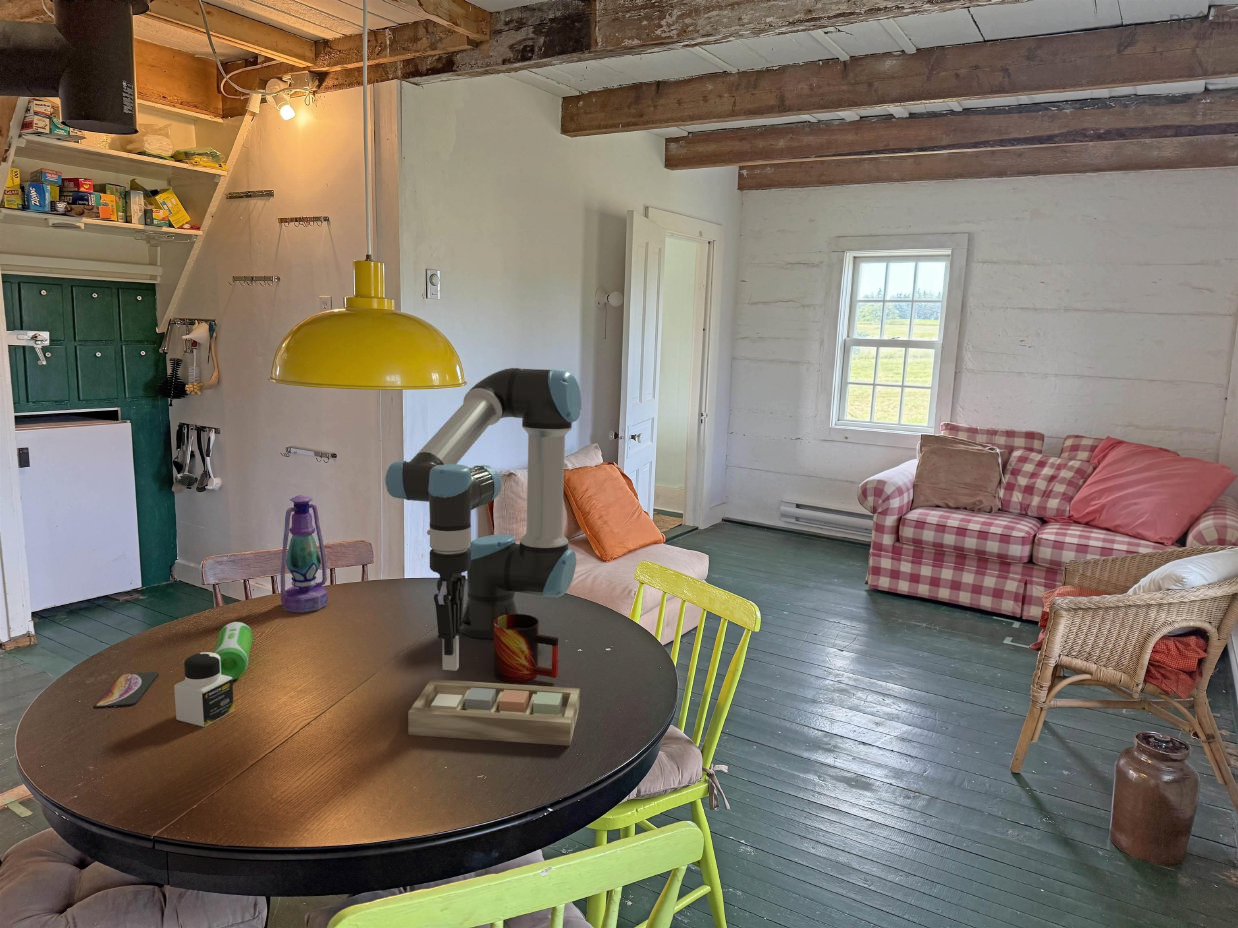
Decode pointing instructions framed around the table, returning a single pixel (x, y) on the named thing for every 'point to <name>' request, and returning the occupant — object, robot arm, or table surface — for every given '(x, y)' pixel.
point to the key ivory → (447, 701)
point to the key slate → (480, 698)
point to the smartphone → (127, 690)
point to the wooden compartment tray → (493, 715)
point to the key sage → (547, 703)
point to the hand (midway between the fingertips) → (450, 668)
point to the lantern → (303, 559)
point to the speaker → (234, 648)
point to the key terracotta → (514, 701)
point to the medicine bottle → (203, 691)
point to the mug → (520, 649)
